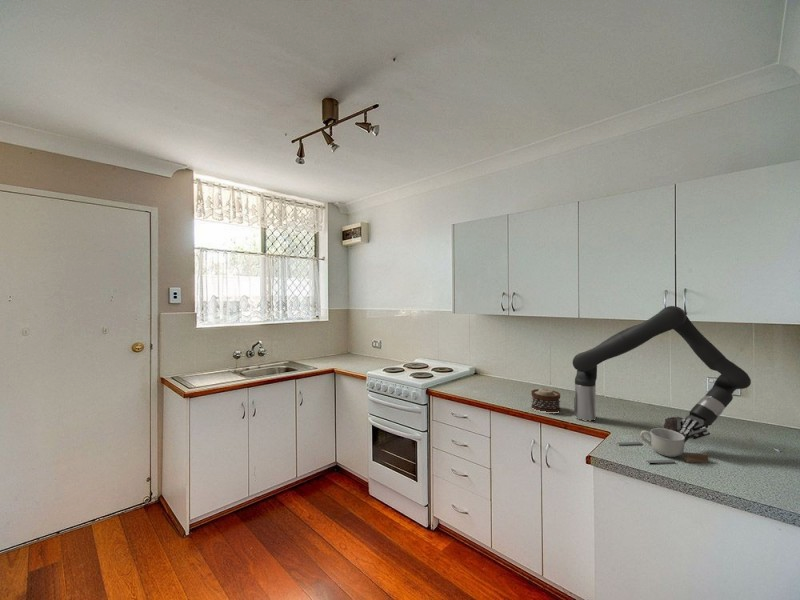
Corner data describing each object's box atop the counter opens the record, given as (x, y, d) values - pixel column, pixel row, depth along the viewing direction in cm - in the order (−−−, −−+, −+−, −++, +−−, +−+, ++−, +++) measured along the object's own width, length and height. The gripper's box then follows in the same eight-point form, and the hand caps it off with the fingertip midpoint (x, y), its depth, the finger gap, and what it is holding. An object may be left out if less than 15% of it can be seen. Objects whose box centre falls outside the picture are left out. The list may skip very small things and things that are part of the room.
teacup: (685, 453, 137) (685, 432, 137) (684, 463, 129) (684, 441, 129) (642, 443, 146) (642, 424, 146) (638, 452, 138) (638, 431, 138)
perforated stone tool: (677, 427, 164) (677, 412, 164) (690, 431, 159) (690, 415, 159) (660, 433, 157) (660, 417, 157) (674, 437, 152) (674, 421, 152)
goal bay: (616, 444, 146) (616, 442, 146) (639, 443, 146) (639, 441, 146) (649, 464, 128) (649, 462, 128) (675, 463, 129) (675, 461, 129)
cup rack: (651, 443, 146) (651, 437, 146) (669, 442, 147) (669, 436, 147) (687, 462, 129) (687, 455, 129) (708, 461, 130) (708, 454, 130)
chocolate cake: (550, 395, 180) (525, 389, 192) (550, 416, 180) (525, 408, 192) (566, 390, 188) (541, 385, 200) (566, 410, 188) (541, 404, 201)
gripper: (686, 399, 145) (658, 429, 144) (717, 409, 132) (686, 443, 131) (698, 411, 146) (670, 441, 145) (730, 422, 132) (700, 456, 132)
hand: (678, 442), depth 138 cm, fingers closed
